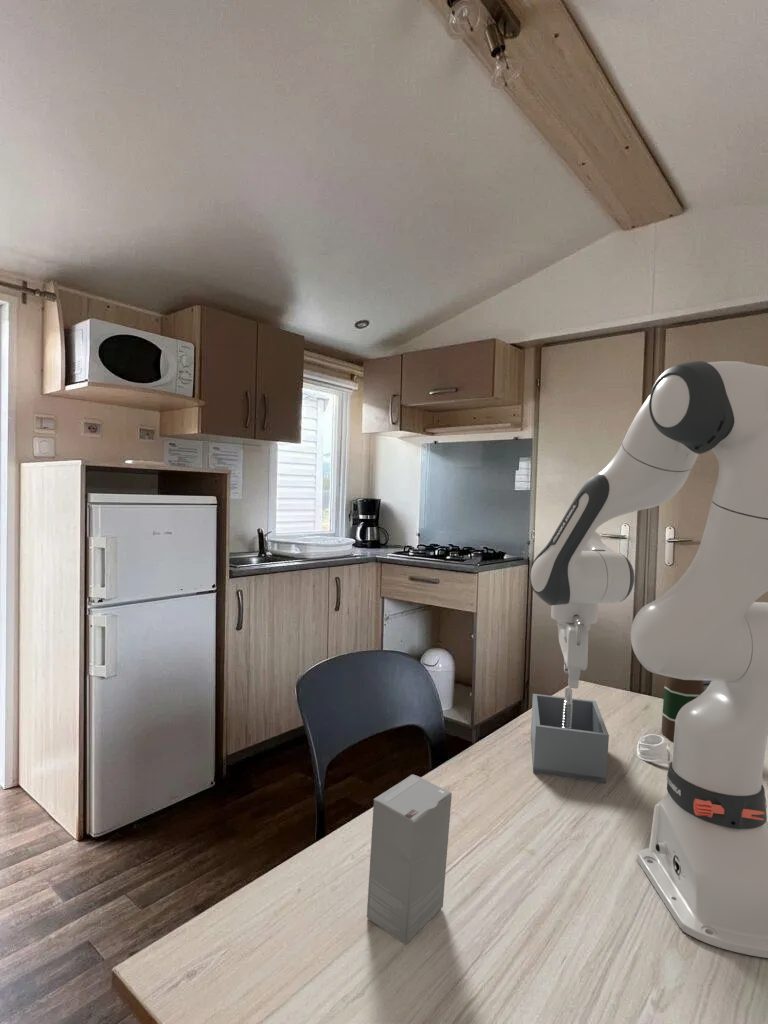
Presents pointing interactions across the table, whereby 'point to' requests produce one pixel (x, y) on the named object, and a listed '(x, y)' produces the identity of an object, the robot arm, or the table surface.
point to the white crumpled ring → (654, 749)
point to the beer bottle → (677, 701)
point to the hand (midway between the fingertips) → (570, 679)
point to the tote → (568, 739)
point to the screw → (567, 709)
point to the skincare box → (408, 856)
